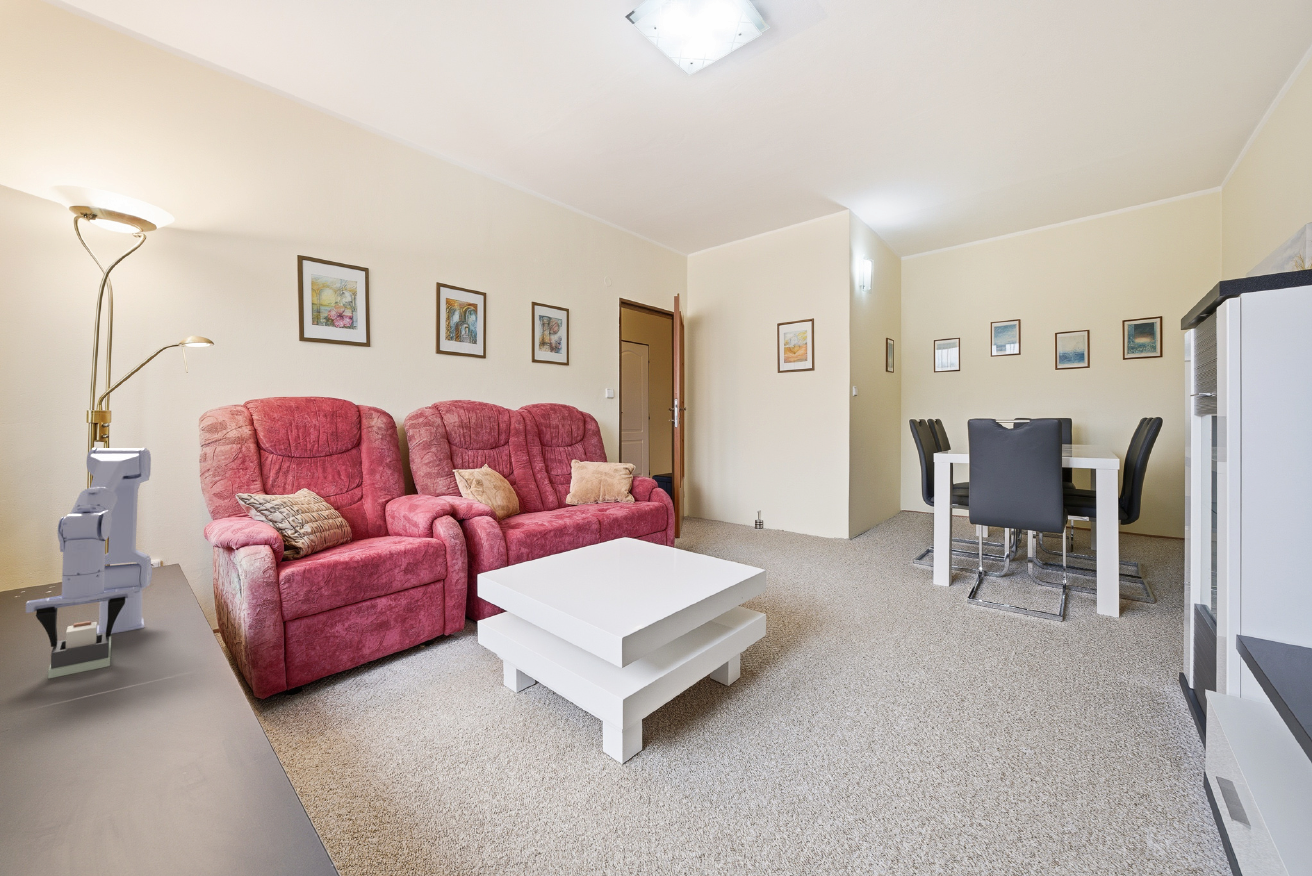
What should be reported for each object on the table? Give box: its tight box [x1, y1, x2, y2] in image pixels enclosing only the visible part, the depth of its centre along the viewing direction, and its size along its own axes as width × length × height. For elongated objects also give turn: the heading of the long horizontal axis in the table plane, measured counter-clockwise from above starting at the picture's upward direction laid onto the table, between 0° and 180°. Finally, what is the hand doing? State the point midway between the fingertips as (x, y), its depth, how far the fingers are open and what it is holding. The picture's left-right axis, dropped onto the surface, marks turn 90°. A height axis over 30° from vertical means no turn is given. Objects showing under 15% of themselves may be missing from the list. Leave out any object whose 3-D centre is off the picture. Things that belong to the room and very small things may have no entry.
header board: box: [47, 633, 112, 680], centre depth 107 cm, size 20×8×4 cm, turn 46°
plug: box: [65, 620, 98, 649], centre depth 104 cm, size 5×4×6 cm
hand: (81, 640), depth 104 cm, fingers open, 7 cm apart
